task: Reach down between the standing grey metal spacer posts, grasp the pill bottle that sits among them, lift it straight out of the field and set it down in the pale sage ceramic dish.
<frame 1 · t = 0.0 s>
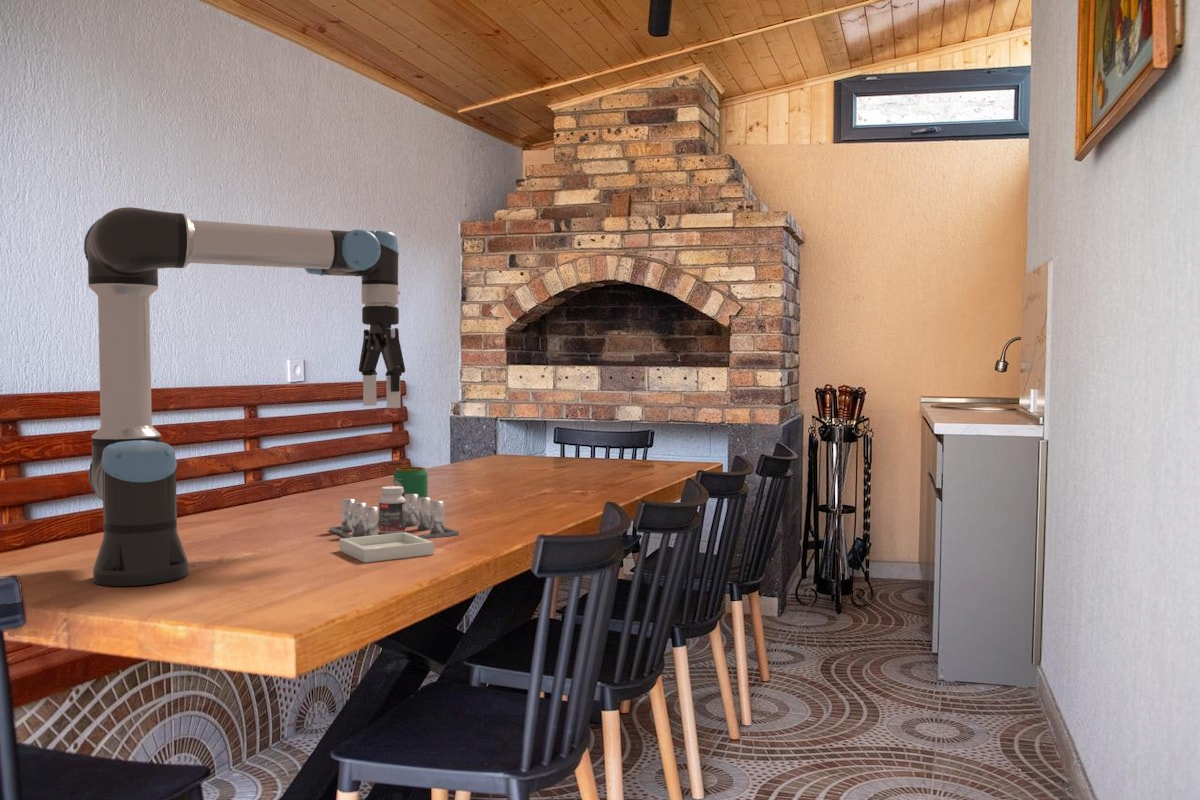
hand: (381, 406, 213), 28 cm above the table, fingers open, 13 cm apart
pill bottle: (392, 533, 222), resting in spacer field
beverage can: (411, 519, 242), on the table
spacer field: (392, 532, 222), on the table
dish: (386, 552, 199), on the table
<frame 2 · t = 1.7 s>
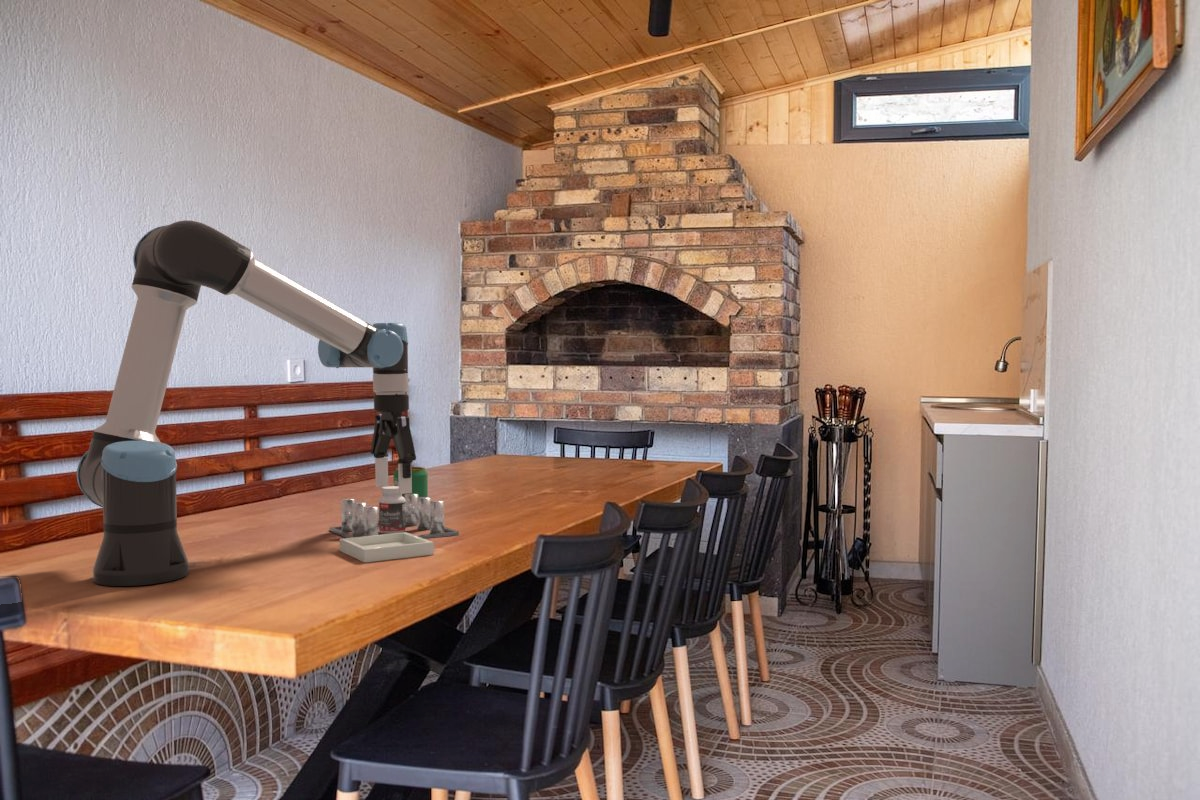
hand: (393, 490, 222), 9 cm above the table, fingers open, 13 cm apart
nothing on the table moved.
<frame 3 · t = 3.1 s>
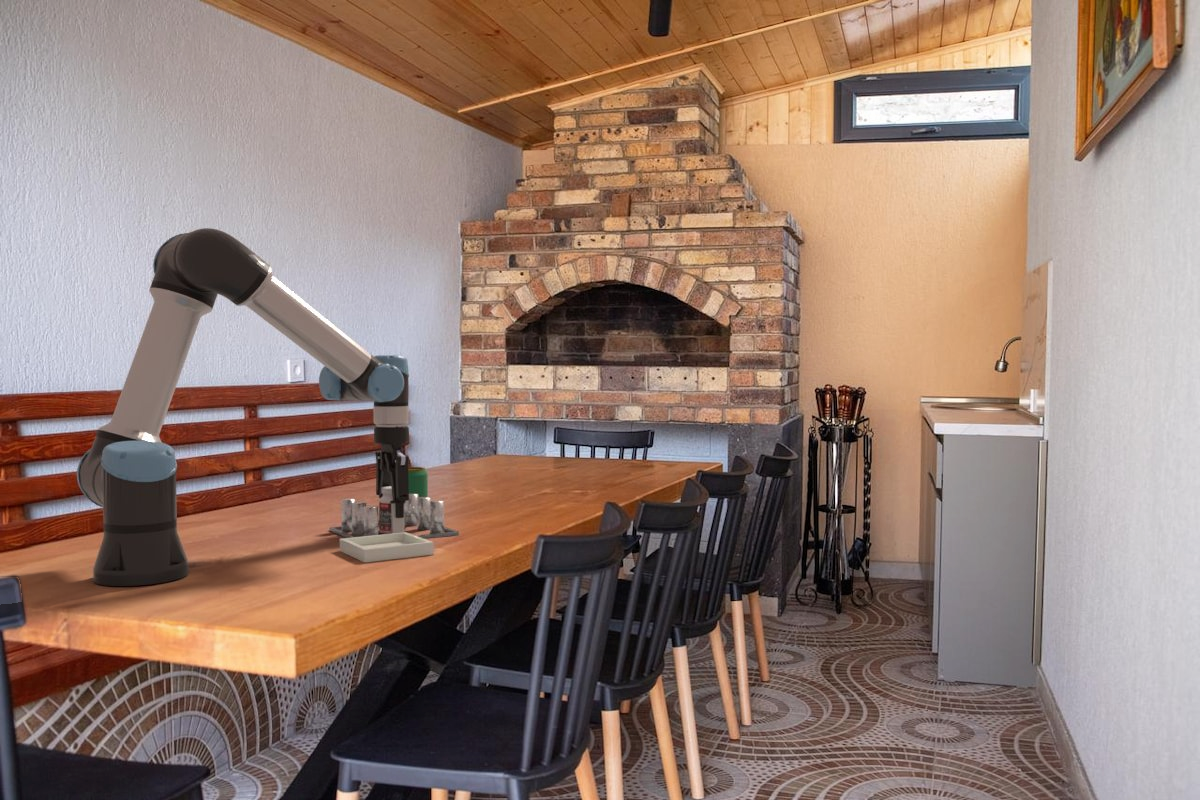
hand: (392, 530, 222), 0 cm above the table, fingers closed on pill bottle, 6 cm apart
pill bottle: (392, 532, 222), resting in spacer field, touching gripper
everything else where it was.
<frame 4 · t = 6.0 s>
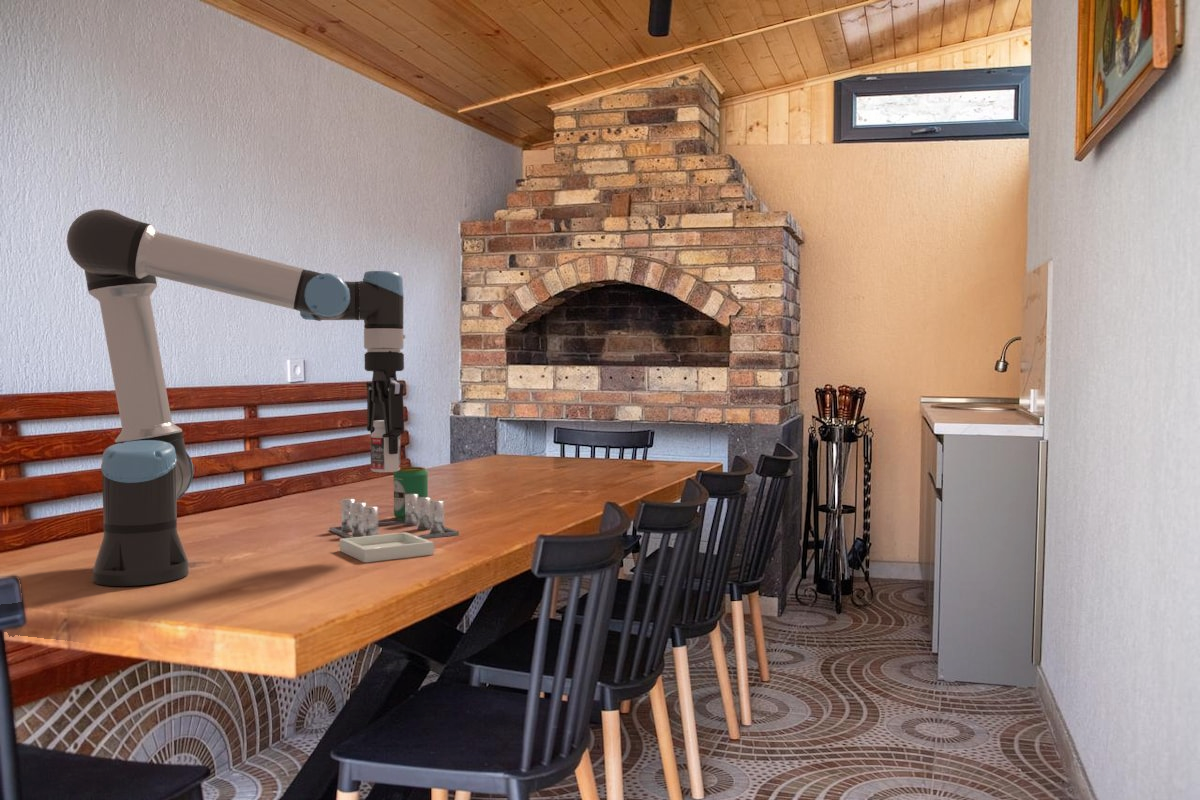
hand: (385, 469, 198), 16 cm above the table, fingers closed on pill bottle, 6 cm apart
pill bottle: (385, 472, 198), point 16 cm above the table, touching gripper
everything else where it was.
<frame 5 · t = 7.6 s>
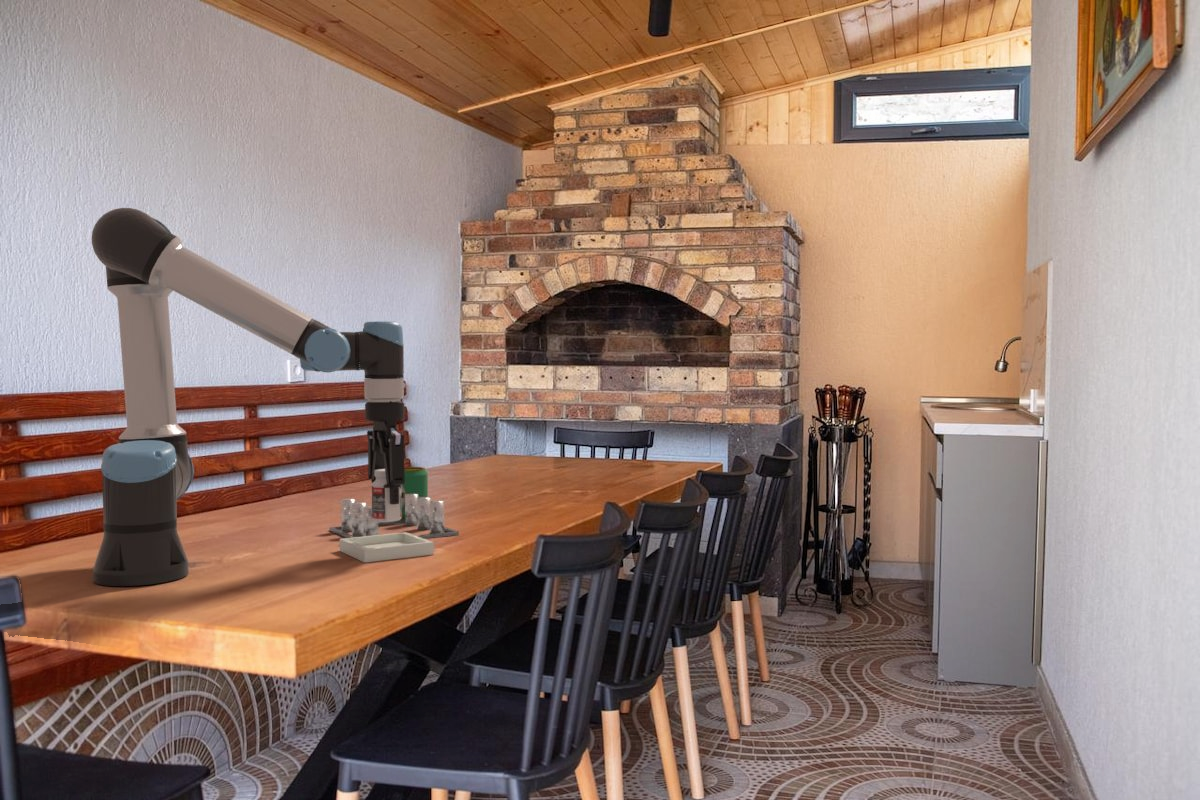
hand: (386, 518, 198), 7 cm above the table, fingers closed on pill bottle, 6 cm apart
pill bottle: (387, 521, 198), point 6 cm above the table, touching gripper
everything else where it was.
when the fingers open (2 cm above the table, at t = 8.8 s): pill bottle drops 1 cm, resting on dish.
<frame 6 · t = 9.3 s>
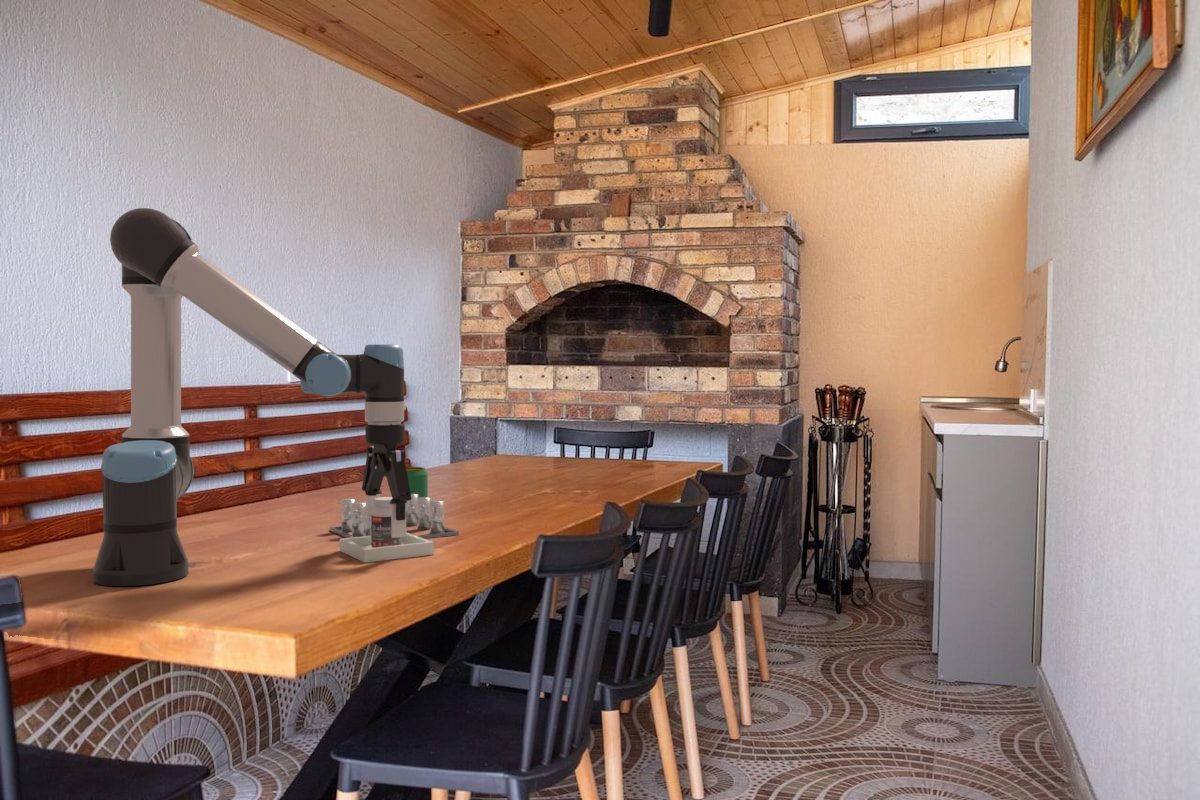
hand: (386, 532, 198), 4 cm above the table, fingers open, 12 cm apart
pill bottle: (386, 549, 198), point 1 cm above the table, touching dish
everything else where it was.
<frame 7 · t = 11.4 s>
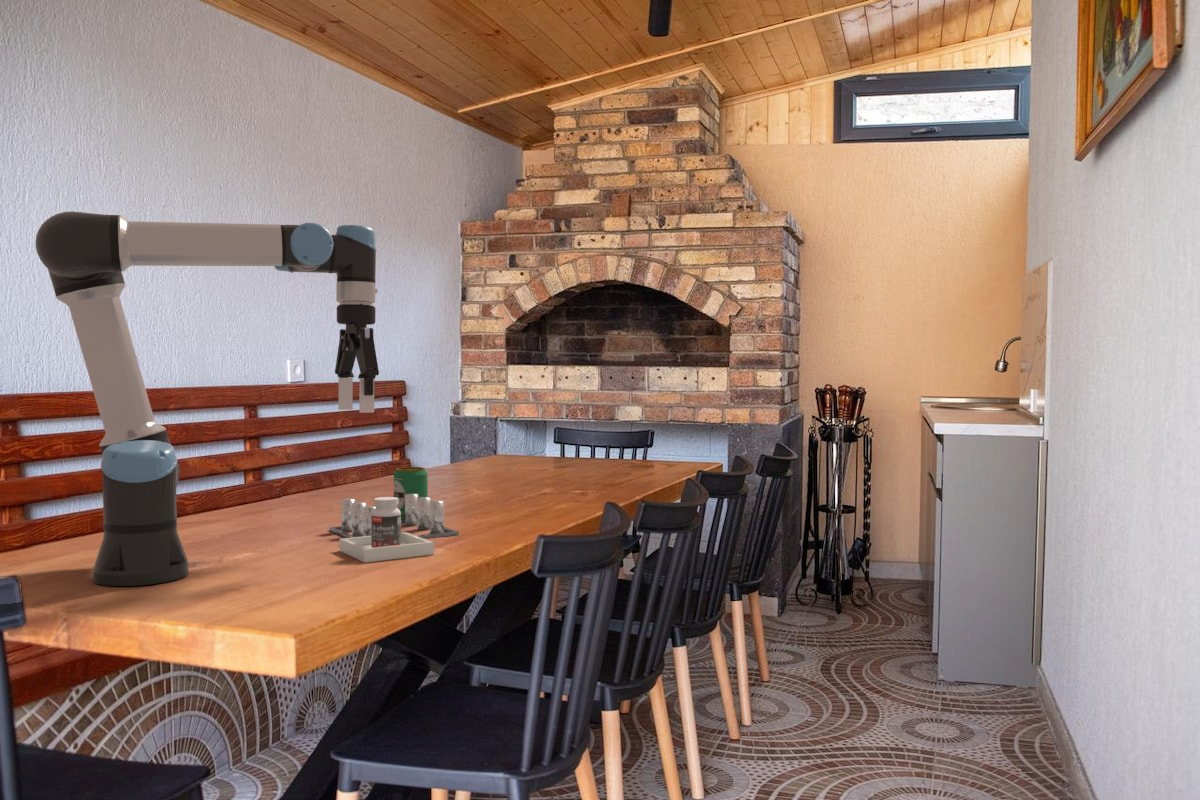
hand: (355, 411, 202), 28 cm above the table, fingers open, 13 cm apart
nothing on the table moved.
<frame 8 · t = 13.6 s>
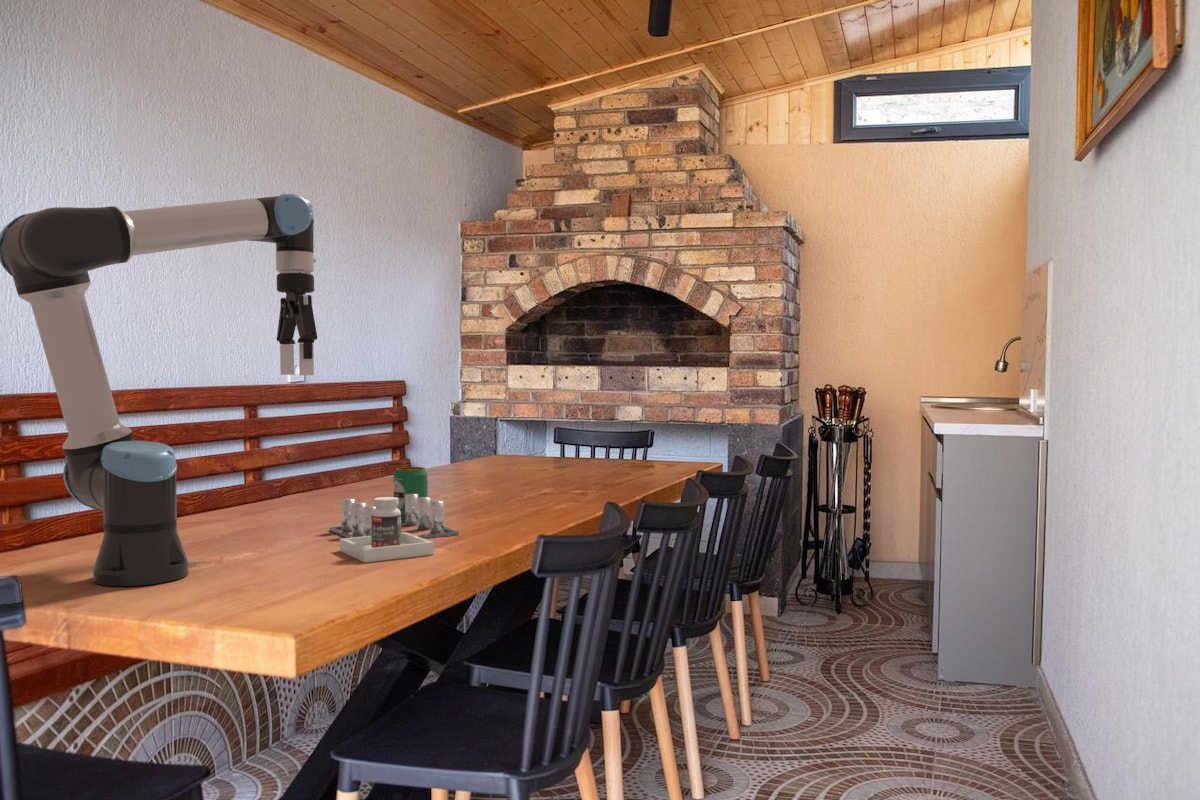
hand: (296, 375, 212), 35 cm above the table, fingers open, 13 cm apart
nothing on the table moved.
at the end: pill bottle inside the target area on the dish (0.0 cm from its centre), point 0.6 cm above the dish's base; pill bottle tilted 0°; the gripper is holding nothing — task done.
